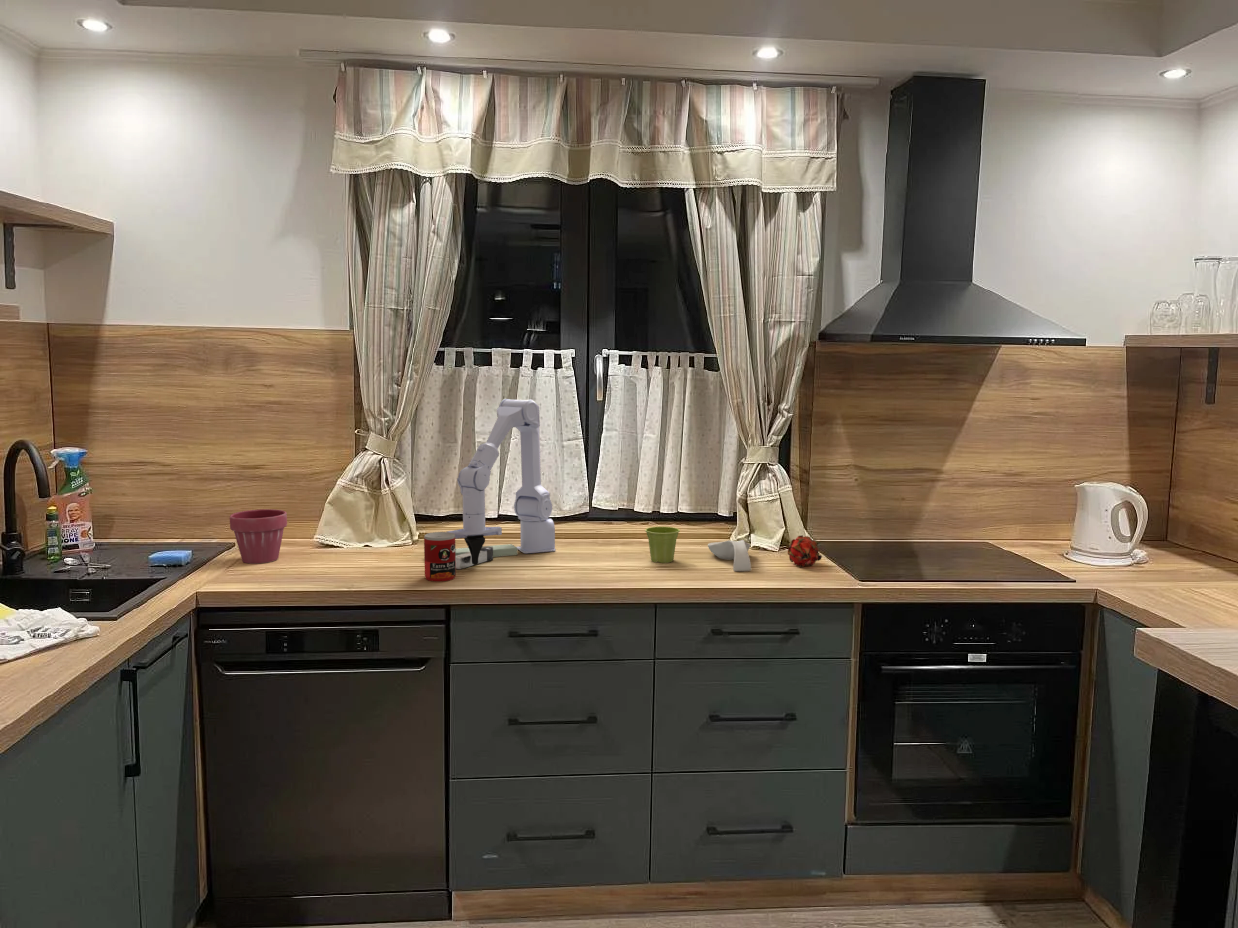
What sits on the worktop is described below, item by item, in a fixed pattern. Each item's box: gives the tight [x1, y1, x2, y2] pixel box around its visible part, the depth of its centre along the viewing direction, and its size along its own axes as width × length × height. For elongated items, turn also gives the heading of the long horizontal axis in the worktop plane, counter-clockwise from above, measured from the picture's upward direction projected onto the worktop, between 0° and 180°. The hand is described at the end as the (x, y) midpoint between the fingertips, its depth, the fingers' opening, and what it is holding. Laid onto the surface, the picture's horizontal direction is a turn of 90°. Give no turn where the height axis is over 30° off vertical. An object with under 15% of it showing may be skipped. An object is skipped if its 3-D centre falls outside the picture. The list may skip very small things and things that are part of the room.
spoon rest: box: [707, 539, 752, 572], centre depth 253 cm, size 24×12×7 cm, turn 6°
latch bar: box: [456, 545, 494, 570], centre depth 248 cm, size 14×4×3 cm, turn 150°
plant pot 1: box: [229, 508, 288, 565], centre depth 250 cm, size 14×14×13 cm
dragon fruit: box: [787, 534, 823, 568], centre depth 249 cm, size 8×8×12 cm
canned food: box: [423, 531, 457, 583], centre depth 232 cm, size 8×8×11 cm
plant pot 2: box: [644, 526, 681, 564], centre depth 253 cm, size 9×9×9 cm
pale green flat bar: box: [455, 543, 518, 558], centre depth 257 cm, size 24×5×2 cm, turn 114°
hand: (474, 564), depth 244 cm, fingers closed
